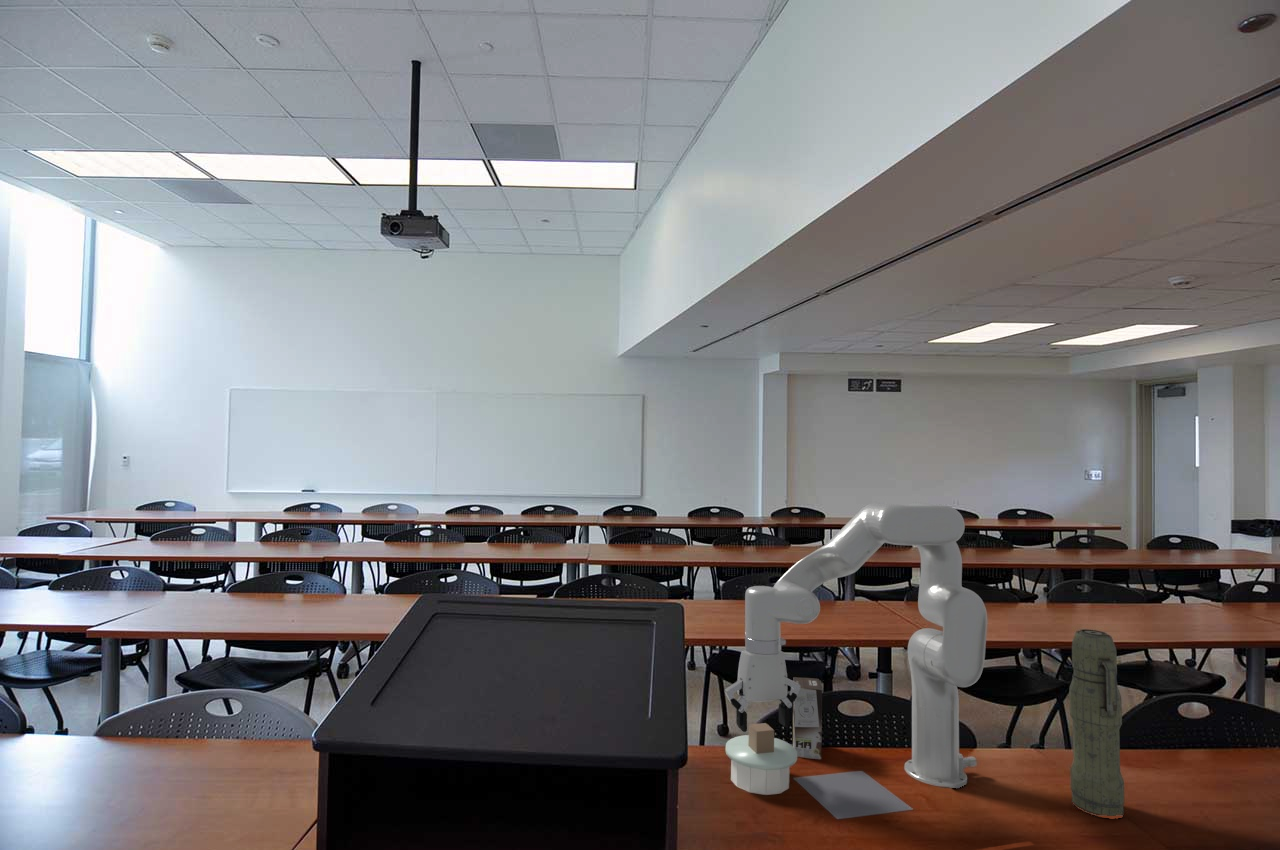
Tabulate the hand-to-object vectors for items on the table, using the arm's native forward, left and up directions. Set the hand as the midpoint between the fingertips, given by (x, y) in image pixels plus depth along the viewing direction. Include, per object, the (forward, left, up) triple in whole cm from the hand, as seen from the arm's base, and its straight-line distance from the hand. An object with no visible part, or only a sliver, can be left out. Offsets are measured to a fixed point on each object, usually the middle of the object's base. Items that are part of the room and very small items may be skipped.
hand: (763, 727), depth 139 cm
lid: (0, 0, -6) cm, 6 cm away
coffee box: (-17, -12, -12) cm, 24 cm away
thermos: (-62, +24, -12) cm, 68 cm away
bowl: (+1, 0, -12) cm, 12 cm away
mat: (-15, +9, -12) cm, 21 cm away
